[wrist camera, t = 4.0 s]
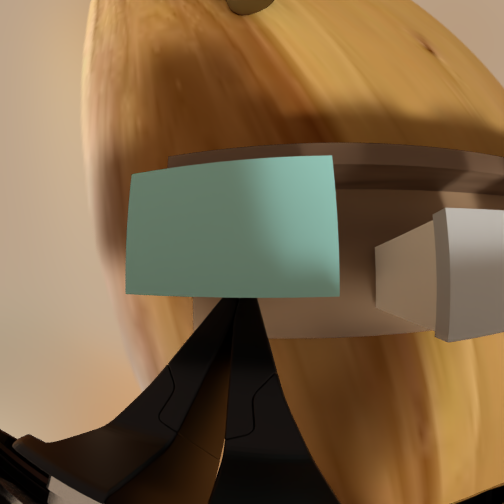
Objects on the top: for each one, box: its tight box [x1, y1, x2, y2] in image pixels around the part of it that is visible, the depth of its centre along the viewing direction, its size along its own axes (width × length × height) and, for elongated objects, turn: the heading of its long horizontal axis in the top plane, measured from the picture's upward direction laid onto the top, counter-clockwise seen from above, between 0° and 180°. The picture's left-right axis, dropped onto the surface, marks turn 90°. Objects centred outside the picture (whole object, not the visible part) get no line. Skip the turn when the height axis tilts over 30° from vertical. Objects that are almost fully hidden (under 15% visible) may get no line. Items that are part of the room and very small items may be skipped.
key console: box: [168, 143, 504, 338], centre depth 12 cm, size 9×24×5 cm, turn 90°
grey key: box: [375, 208, 504, 342], centre depth 9 cm, size 3×5×8 cm, turn 90°
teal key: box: [126, 155, 340, 298], centre depth 10 cm, size 3×5×8 cm, turn 90°
